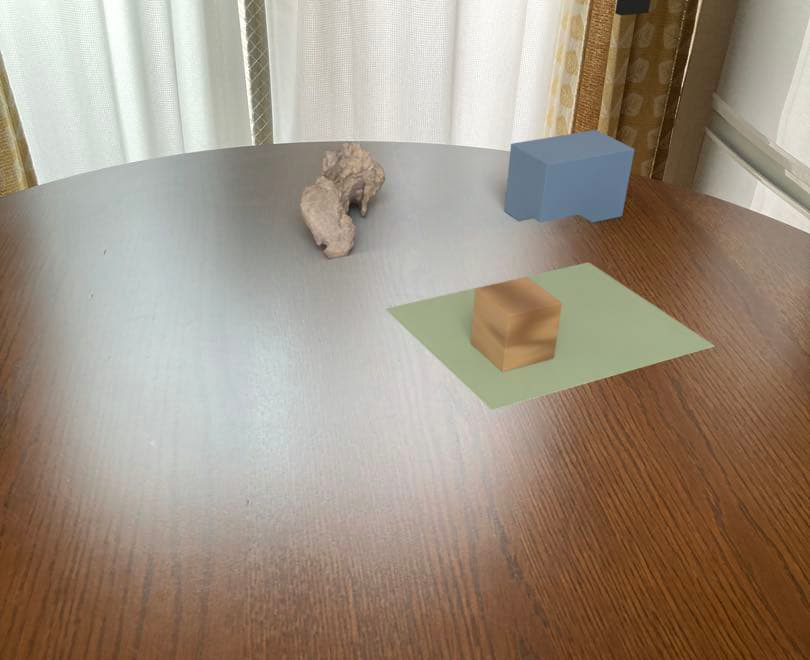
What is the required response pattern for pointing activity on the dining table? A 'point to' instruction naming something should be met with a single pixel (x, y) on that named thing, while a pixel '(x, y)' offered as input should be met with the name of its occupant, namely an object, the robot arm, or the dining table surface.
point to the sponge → (568, 177)
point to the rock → (340, 196)
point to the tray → (576, 340)
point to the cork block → (515, 323)
